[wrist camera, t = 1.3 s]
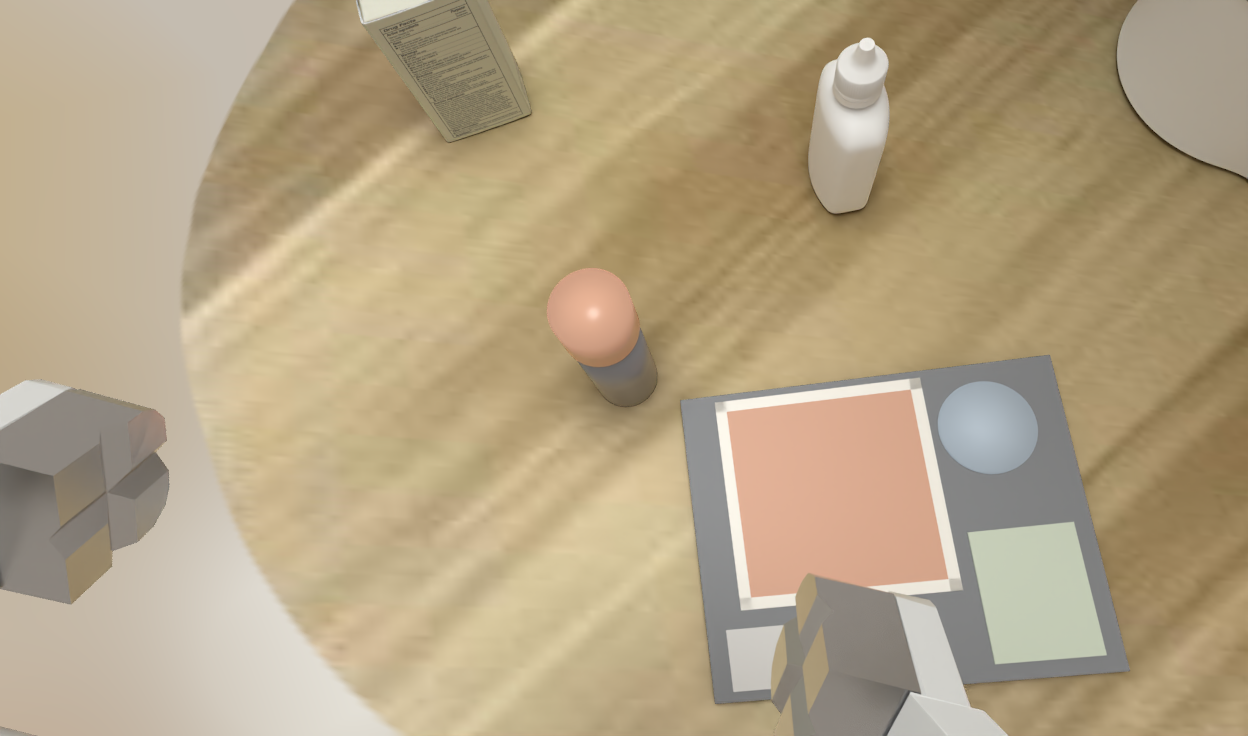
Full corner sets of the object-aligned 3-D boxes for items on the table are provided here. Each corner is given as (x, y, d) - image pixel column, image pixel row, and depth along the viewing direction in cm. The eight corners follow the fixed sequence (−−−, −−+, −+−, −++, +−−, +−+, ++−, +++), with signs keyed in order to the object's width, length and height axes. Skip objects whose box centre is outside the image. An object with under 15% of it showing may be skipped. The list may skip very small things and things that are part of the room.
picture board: (1044, 359, 43) (1050, 354, 43) (1122, 669, 39) (1131, 671, 38) (681, 403, 46) (680, 400, 45) (715, 701, 41) (715, 704, 40)
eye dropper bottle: (887, 143, 48) (931, 4, 37) (859, 224, 47) (896, 106, 36) (816, 125, 49) (838, -15, 38) (788, 204, 48) (801, 84, 37)
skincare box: (518, 63, 54) (456, -81, 42) (534, 117, 52) (474, -17, 41) (431, 94, 54) (345, -42, 42) (444, 148, 53) (360, 24, 41)
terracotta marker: (655, 341, 47) (626, 262, 35) (662, 404, 46) (635, 342, 34) (592, 350, 47) (544, 274, 36) (597, 412, 46) (549, 354, 35)
